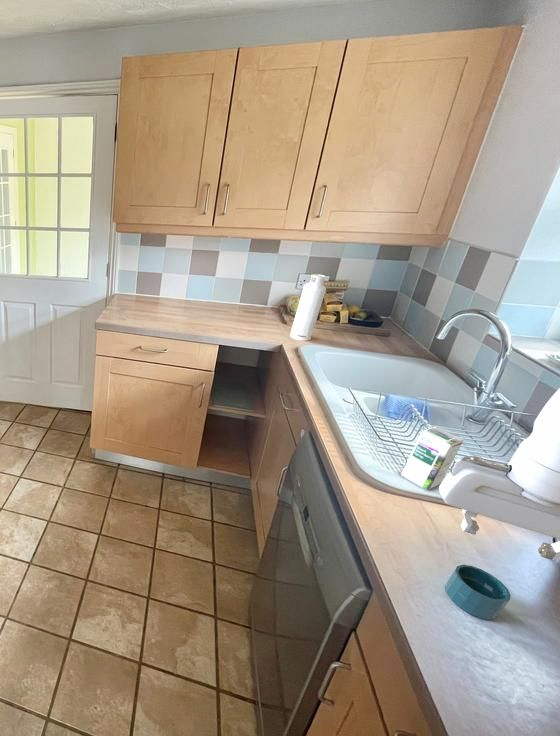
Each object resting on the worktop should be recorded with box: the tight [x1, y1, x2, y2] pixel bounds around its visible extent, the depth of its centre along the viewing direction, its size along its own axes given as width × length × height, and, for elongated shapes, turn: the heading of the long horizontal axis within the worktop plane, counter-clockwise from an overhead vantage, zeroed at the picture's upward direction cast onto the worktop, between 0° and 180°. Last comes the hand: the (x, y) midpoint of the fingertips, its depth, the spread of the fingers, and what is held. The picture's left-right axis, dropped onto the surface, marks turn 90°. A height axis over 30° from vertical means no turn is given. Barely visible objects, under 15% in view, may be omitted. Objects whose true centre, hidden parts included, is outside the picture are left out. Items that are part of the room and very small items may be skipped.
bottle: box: [289, 273, 327, 342], centre depth 178 cm, size 8×8×28 cm
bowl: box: [444, 564, 512, 620], centre depth 72 cm, size 7×7×5 cm
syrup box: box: [400, 426, 465, 491], centre depth 96 cm, size 6×6×14 cm
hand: (505, 542), depth 67 cm, fingers open, 8 cm apart
